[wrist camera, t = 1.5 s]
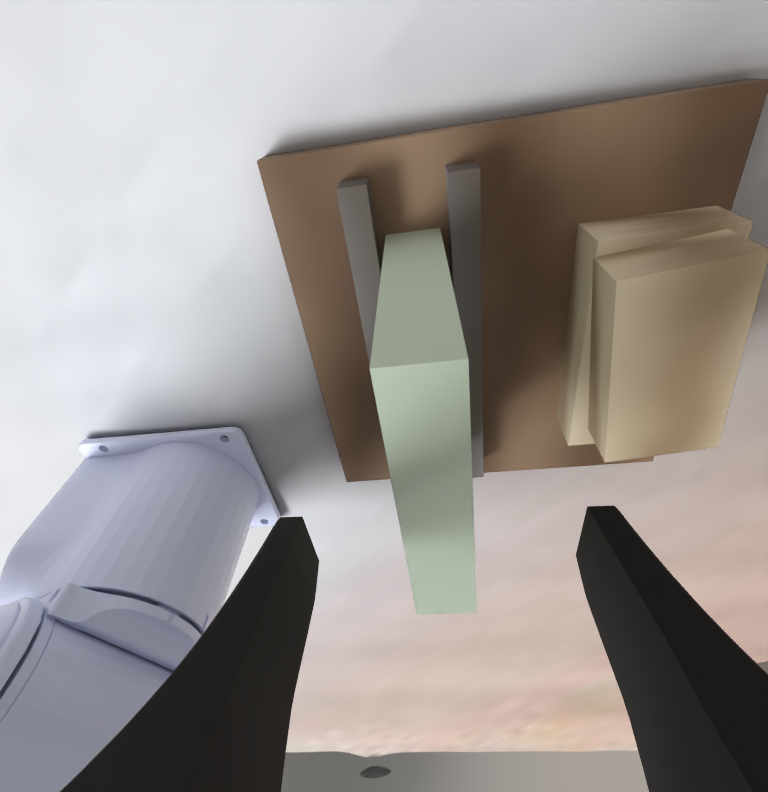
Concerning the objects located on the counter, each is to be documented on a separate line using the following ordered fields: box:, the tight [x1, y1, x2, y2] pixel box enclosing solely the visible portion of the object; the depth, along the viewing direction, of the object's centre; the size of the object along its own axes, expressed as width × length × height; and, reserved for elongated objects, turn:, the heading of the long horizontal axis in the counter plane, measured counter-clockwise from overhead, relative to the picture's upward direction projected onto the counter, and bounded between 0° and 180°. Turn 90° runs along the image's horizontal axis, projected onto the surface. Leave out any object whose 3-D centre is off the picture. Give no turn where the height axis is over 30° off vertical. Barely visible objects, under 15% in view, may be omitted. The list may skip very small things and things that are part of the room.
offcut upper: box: [588, 229, 768, 463], centre depth 15 cm, size 4×8×2 cm, turn 14°
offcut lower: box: [556, 206, 754, 446], centre depth 17 cm, size 5×9×2 cm, turn 8°
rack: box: [257, 79, 768, 482], centre depth 19 cm, size 16×16×2 cm
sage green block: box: [370, 228, 477, 614], centre depth 15 cm, size 2×10×9 cm, turn 8°
